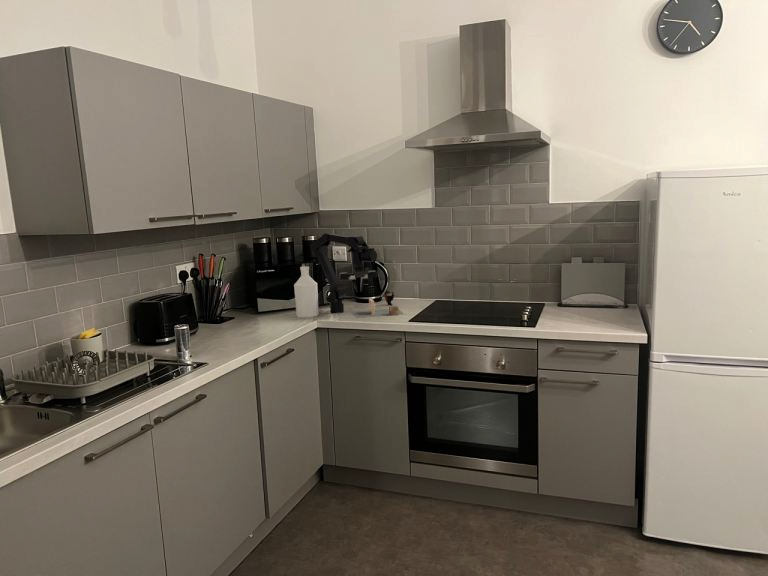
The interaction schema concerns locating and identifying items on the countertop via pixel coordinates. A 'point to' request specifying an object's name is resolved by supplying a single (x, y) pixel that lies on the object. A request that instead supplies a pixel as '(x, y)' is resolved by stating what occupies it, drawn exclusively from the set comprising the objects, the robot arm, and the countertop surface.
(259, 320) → the countertop surface
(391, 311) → the cube
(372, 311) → the tile
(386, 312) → the mat
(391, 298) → the figurine
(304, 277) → the bottle
